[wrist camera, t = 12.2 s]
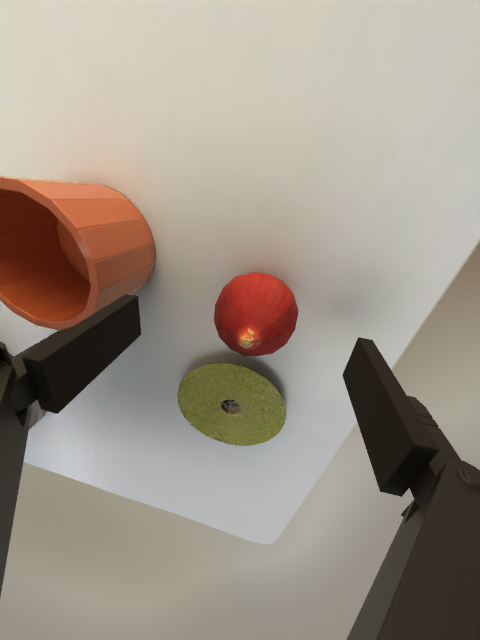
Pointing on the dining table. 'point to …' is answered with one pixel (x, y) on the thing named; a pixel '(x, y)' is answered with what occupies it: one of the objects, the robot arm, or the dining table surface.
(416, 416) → the robot arm
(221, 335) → the onion
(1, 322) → the dining table surface
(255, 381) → the mat
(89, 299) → the flower pot
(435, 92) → the dining table surface
